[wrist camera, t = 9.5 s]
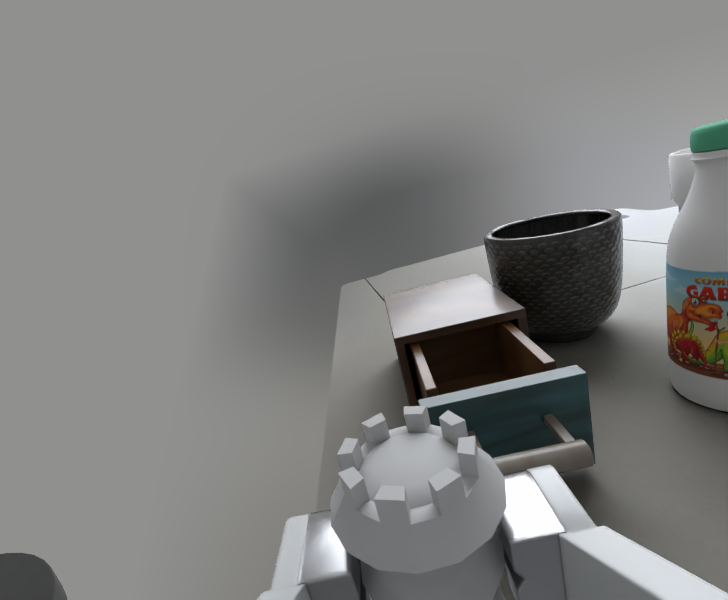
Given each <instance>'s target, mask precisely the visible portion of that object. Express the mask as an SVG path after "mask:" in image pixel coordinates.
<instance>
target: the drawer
mask: <svg viewBox="0 0 728 600" xmlns="http://www.w3.org/2000/svg"><path fill="white" fill-rule="evenodd" d="M409 347H410V351H411V356H412V360H413V365H414V369H415V373H416V378H417V382H418V386H419V391H420V394H421V397H422V399H420V400H418V403H419V406H427V409H428V414H429V419H430V423H431V425H435V426H439V427H441V426H440V421H439V417H440V416H441V415H443V414H444V413H445V412H446V411H448V410H449V411H451V412H452V413H454V414H456V415H457V416H459V417H461V418H462V419H464V420H465V422H466V427H467V432H468V437H469V436H475V438H476V443H477V447H479V448H480V449H482V450H483V451H485V452H486V453H487V454H489V455H490V456H491V458H492V459H493V461H494V462H495V464H496V465H497V467H498V468H499V470H500V471H501V473H502V475H505V474H509V473H514V472H519V471H523V470H527V469H531V468H536V467H540V466H545V465H549V464H550V465H551V466H553V467H554V468H555V469H556V471H557V472H558V473H562V472H566V471H571V470H576V469H581V468H586V467H590V466H593V465H594V464H595V454H594V444H593V433H592V422H591V412H590V401H589V391H588V380H587V373H586V372H585V371H584V370H583V369H581V368H580V367H579V366H578V365H572V366H568V367H564V368H559V369H556V361H555V360H554V359H553V358H551V357H550V356H549V355H548V354H547V353H546V352H544V351H543V350H542V349H541V348H540V347H539V346H537V345H536V344H535V343H534V342H533V341H532V340H531V339H529V338H528V337H527V336H526V335H525V334H524V333H522V332H521V331H520V330H519V329H518V328H517V327H515V326H514V325H513V324H512V323H511V322H510V321H504V322H500V323H496V324H491V325H487V326H483V327H478V328H474V329H470V330H465V331H461V332H457V333H452V334H448V335H444V336H439V337H435V338H431V339H426V340H422V341H418V342H414V343H409Z"/></svg>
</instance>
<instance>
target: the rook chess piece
mask: <svg viewBox="0 0 728 600" xmlns="http://www.w3.org/2000/svg"><path fill="white" fill-rule="evenodd" d="M404 417H405V422H406V426H402V427H399V428H395V429H391V430H388V426H387V422H386V419H385V417H384V416H383V414H382V413H379V414H378V415H376V416H374V417H372V418H370V419H368V420H366V421H364V422H362V423H361V425H362V428H363V432H364V436H365V439H366V443H365V444H364V445H363V446H362V447H361V448H360V444H359V441H358V439H352V438H345V440H344V442H343V444H342V446H341V448H340V450H339V452H338V454H337V456H338V460H339V463H340V466H341V470H342V471H341V472H339V473H338V475H339V478H340V479H339V482H338V484H337V486H336V488H335V490H334V493H333V495H332V497H331V527H332V528H333V530H334V532H335V533H336V535H337V537H338V538H339V540H340V542H341V543H342V545H343V547H344V548H345V550H346V552H348V553H350V554H351V555H353V556H355V557H356V558H358V559H360V562H361V572H362V582H363V585H364V586H365V588H366V590H367V591H368V593H369V595H370V596H371V598H372V600H505V597H504V595H503V592H502V589H501V587H500V584H499V583H500V581H501V578H502V576H503V574H504V571H505V570H504V551H503V543H502V541H501V538H500V536H499V535H498V533H497V531H496V528H497V526H498V524H499V522H500V520H501V518H502V516H503V514H504V511H505V509H506V507H507V503H506V489H505V478H504V476H503V475H502V473H501V471H500V470H499V468H498V467H497V465H496V464H495V462H494V461H493V459H492V458H491V456H490V455H489V454H487V453H486V452H485V451H483V450H482V449H480V448H479V447H477V443H476V438H475V436H469V437H468V432H467V427H466V422H465V420H464V419H462V418H461V417H459V416H457V415H456V414H454V413H452V412H451V411H449V410H448V411H446V412H445V413H444V414H443V415H441V416H440V417H439V421H440V426H441V427H439V426H435V425H431V423H430V419H429V414H428V409H427V406H405V407H404Z"/></svg>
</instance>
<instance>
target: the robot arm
mask: <svg viewBox="0 0 728 600" xmlns="http://www.w3.org/2000/svg"><path fill="white" fill-rule="evenodd" d="M503 476H504V478H505V489H506V503H507V507H506V509H505V511H504V514H503V516H502V518H501V520H500V522H499V524H498V526H497V528H496V531H497V533H498V535H499V536H500V538H501V541H502V543H503V551H504V564H505V566H506V572H507V577H508V582H509V585H510V587H511V590H512V592H513V595H514V598H515V600H728V593H726V592H724V591H723V590H721V589H719V588H717V587H715V586H714V585H712V584H710V583H708V582H706V581H704V580H703V579H701V578H699V577H697V576H695V575H694V574H692V573H690V572H688V571H686V570H685V569H683V568H681V567H679V566H677V565H675V564H674V563H672V562H670V561H668V560H666V559H665V558H663V557H661V556H659V555H657V554H655V553H654V552H652V551H650V550H648V549H646V548H645V547H643V546H641V545H639V544H637V543H635V542H634V541H632V540H630V539H628V538H626V537H625V536H623V535H621V534H619V533H617V532H616V531H614V530H612V529H610V528H608V527H606V526H599V527H597V526H596V525H595V524H594V522H593V521H592V519H591V518H590V517H589V515H588V514H587V513H586V511H585V510H584V508H583V507H582V506H581V504H580V503H579V501H578V500H577V499H576V497H575V496H574V494H573V493H572V492H571V490H570V489H569V487H568V486H567V485H566V483H565V482H564V480H563V479H562V478H561V476H560V475H559V474H558V472H557V471H556V469H555V468H554V467H553V466H551V465H550V464H549V465H545V466H540V467H536V468H531V469H527V470H523V471H519V472H514V473H509V474H505V475H503ZM257 600H370V596H369V593H368V591H367V590H366V588H365V586H364V585H363V582H362V572H361V562H360V559H358V558H356V557H355V556H353V555H351V554H350V553H348V552H346V550H345V548H344V547H343V545H342V543H341V542H340V540H339V538H338V537H337V535H336V533H335V532H334V530H333V528H332V527H331V510H326V511H320V512H315V513H311V514H307V515H301V516H295V517H289V518H288V520H287V521H286V523H285V526H284V530H283V535H282V539H281V544H280V548H279V552H278V557H277V561H276V566H275V570H274V575H273V579H272V583H271V588H270V591H266V592H262V594H261V595H260V596H259V597H258V599H257Z"/></svg>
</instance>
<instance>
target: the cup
mask: <svg viewBox="0 0 728 600" xmlns="http://www.w3.org/2000/svg"><path fill="white" fill-rule="evenodd" d="M692 153H693V152H691V150H690V148H686V149H682V150H680V151H676V152H674V153H671V154H670V155H669V174H670V189H671V199H672V200H673V201H674V202H676V203H677V204H678V206H679V213H680V211H681V209H682V207H683V205H684V203H685V201H686V199H687V196H688V194H689V191H690V188H691V185H692V182H693V179H694V174H695V163H694V162H693V161H691V160H690V159H691V158H692Z"/></svg>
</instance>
